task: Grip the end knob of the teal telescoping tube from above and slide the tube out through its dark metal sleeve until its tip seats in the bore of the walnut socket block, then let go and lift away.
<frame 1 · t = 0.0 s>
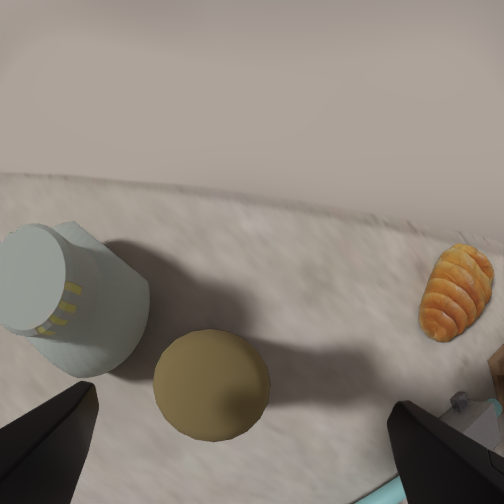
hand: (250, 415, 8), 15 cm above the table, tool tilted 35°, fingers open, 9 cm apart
pastry: (449, 294, 27), on the table
sleeve: (437, 442, 22), on the table
air freshener: (91, 304, 23), on the table
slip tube: (412, 494, 17), point 4 cm above the table, slide at 0.0 cm
cork: (213, 369, 23), on the table
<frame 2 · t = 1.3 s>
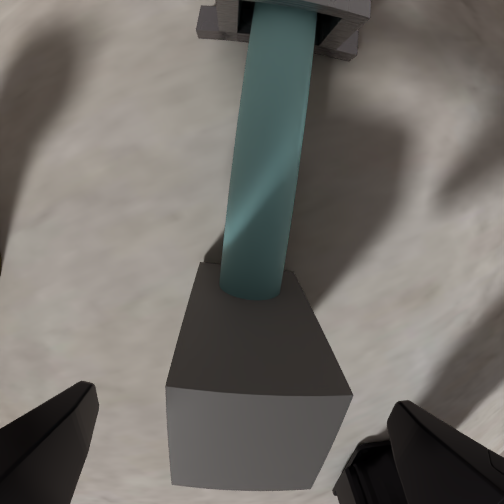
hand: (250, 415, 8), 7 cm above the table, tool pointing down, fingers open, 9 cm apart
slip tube: (286, 52, 8), point 4 cm above the table, slide at 0.0 cm
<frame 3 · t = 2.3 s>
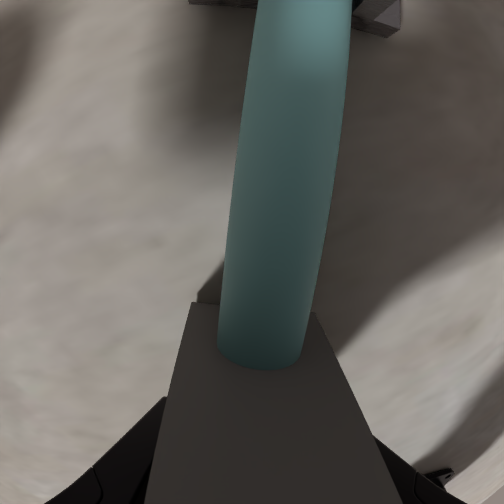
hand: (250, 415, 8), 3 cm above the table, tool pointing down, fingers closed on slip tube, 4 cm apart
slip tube: (321, 1, 4), point 4 cm above the table, slide at 0.0 cm, touching gripper
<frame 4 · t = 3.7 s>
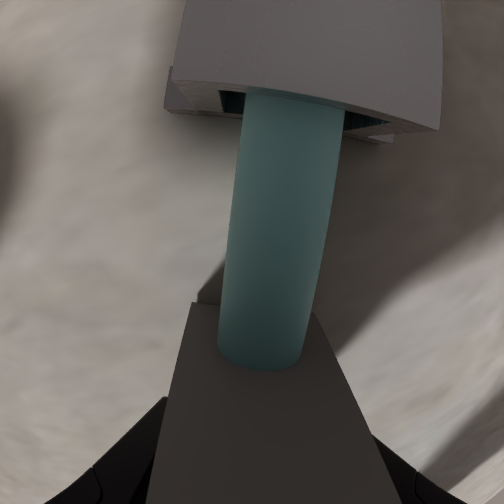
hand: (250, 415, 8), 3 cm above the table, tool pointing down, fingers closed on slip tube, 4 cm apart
sleeve: (294, 8, 8), on the table
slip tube: (323, 3, 4), point 4 cm above the table, slide at 3.8 cm, touching gripper
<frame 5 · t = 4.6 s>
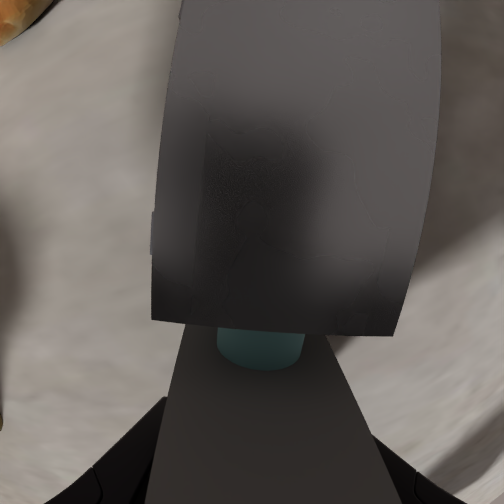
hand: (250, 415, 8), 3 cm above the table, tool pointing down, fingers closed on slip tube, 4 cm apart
sleeve: (278, 124, 9), on the table
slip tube: (321, 2, 4), point 4 cm above the table, slide at 7.8 cm, touching gripper
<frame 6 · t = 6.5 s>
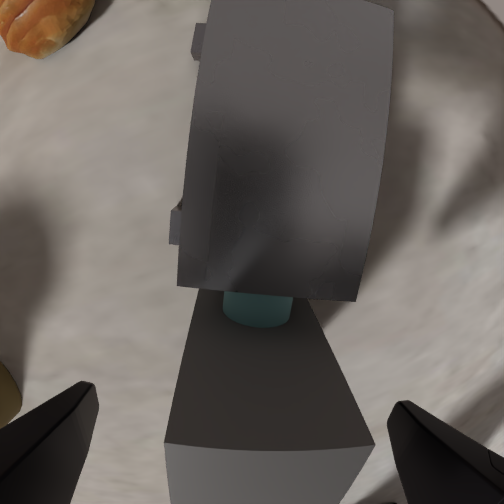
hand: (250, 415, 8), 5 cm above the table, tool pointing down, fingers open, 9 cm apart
sleeve: (271, 140, 11), on the table
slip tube: (300, 48, 7), point 4 cm above the table, slide at 8.0 cm
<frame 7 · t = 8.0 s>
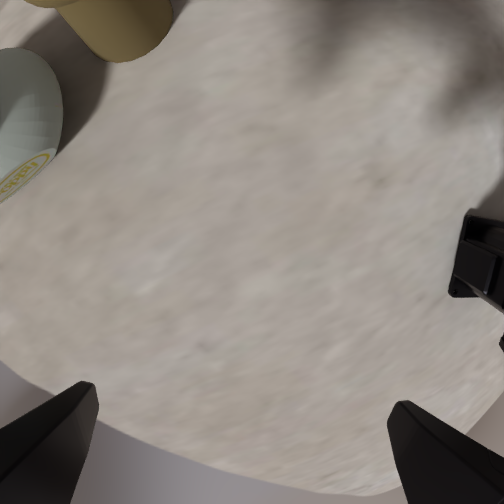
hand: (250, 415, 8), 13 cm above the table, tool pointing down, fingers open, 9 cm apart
air freshener: (20, 130, 17), on the table
cork: (129, 23, 16), on the table
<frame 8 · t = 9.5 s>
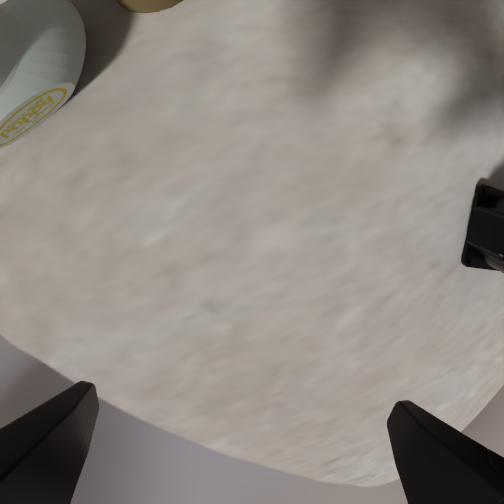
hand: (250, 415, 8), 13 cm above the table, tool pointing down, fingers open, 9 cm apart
air freshener: (36, 75, 16), on the table
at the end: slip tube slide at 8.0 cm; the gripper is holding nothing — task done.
